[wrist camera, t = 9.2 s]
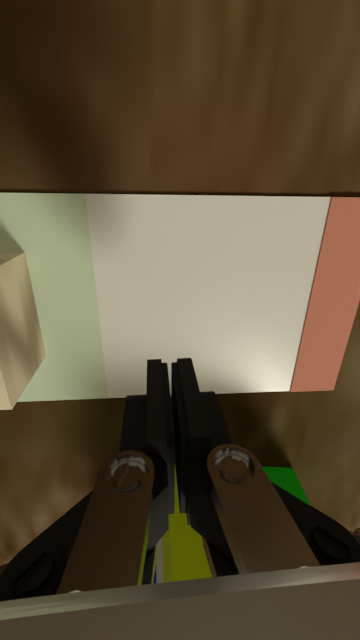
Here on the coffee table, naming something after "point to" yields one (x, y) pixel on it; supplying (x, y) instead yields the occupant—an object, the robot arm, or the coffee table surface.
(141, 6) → the coffee table surface
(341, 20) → the coffee table surface
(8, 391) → the birch block
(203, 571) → the puzzle toy
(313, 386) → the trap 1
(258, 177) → the coffee table surface
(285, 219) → the lane
